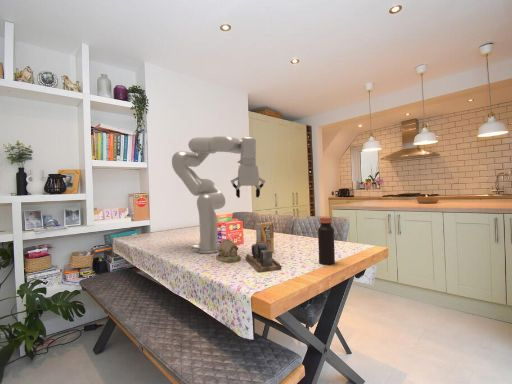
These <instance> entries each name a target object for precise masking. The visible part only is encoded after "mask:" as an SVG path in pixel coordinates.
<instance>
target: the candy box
mask: <svg viewBox="0 0 512 384" xmlns="http://www.w3.org/2000/svg"><path fill="white" fill-rule="evenodd" d="M274 235H275V233H274V222H271V221H269V222H260V223H256V224H255V236H256V237H255V238H256V239H255V240H256V241H255V243H256V242H262V241H265V242H266V243H268V245H269V250H271V251H272V253H274V252H275V242H274V241H275V240H274V238H275V237H274Z"/></svg>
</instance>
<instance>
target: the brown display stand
mask: <svg viewBox="0 0 512 384" xmlns="http://www.w3.org/2000/svg"><path fill="white" fill-rule="evenodd" d="M255 245H256V243H253V244H252V245H251V255H250V254H249V253H247V254H246V256H245V261H246V262H247V263H248V264H249V265H250V266H251V267H252V268H253V269H254V270H255V271H256V272H257V273H264V272H272V271H281V270H282V265H281V263H279V262H278V261H277V260H276V259H275V258H273V252H272V251H271V250H261V252H260V262H261V263H259V262H258V261H257V260H256V255H255Z"/></svg>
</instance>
